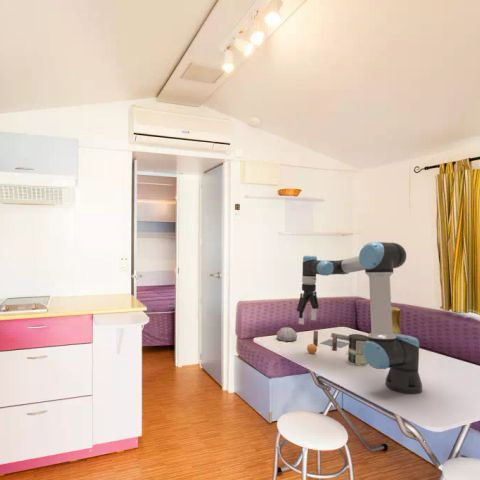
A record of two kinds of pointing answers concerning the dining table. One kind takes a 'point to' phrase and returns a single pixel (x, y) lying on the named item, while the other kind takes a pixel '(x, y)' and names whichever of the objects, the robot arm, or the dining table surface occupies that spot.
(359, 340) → the coffee can
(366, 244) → the robot arm
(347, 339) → the wall
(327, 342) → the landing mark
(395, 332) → the pitcher
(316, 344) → the left post
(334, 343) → the right post
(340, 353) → the dining table surface
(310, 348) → the ball
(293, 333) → the sea urchin shell
